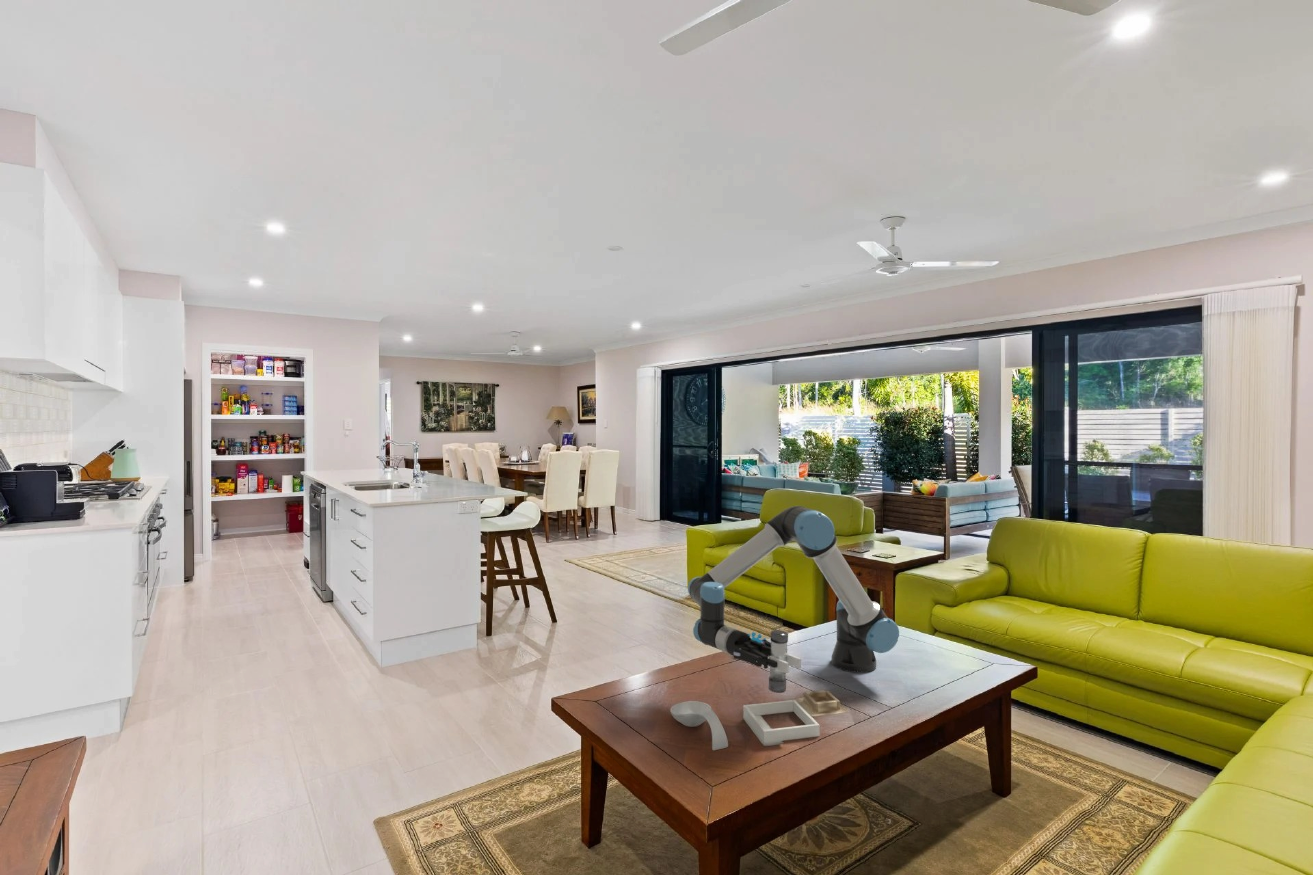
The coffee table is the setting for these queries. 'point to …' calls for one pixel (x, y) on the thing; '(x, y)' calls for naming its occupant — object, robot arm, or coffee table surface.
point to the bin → (778, 735)
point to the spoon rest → (701, 720)
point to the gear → (756, 638)
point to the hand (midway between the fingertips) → (793, 665)
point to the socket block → (821, 703)
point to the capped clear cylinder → (778, 651)
